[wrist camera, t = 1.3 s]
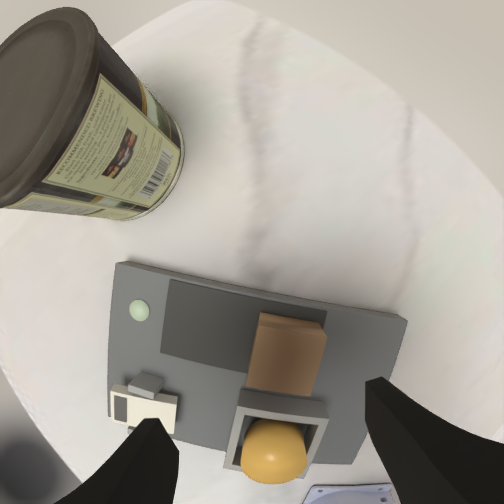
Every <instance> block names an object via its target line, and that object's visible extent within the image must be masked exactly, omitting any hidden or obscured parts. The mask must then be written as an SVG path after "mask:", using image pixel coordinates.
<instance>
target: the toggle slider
mask: <svg viewBox="0 0 504 504" xmlns="http://www.w3.org/2000/svg"><path fill="white" fill-rule="evenodd" d="M326 341H327V336H326V334H325V332H324V331H323V329H322V327H321V326H320V324H319V323H318V322H312V321H306V320H301V319H295V318H290V317H284V316H279V315H273V314H268V313H263V312H260V315H259V320H258V324H257V329H256V334H255V338H254V343H253V348H252V352H251V357H250V361H249V366H248V373H247V379H246V385H245V386H246V387H251V388H256V389H262V390H268V391H274V392H280V393H286V394H293V395H301V396H308V397H310V395H311V392H312V389H313V386H314V383H315V379H316V376H317V373H318V369H319V366H320V363H321V359H322V356H323V352H324V348H325V345H326Z"/></svg>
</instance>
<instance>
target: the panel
mask: <svg viewBox="0 0 504 504" xmlns="http://www.w3.org/2000/svg"><path fill="white" fill-rule="evenodd" d="M260 312H263V313H268V314H273V315H279V316H284V317H290V318H295V319H301V320H306V321H312V322H318V323H319V324H320V326H321V327H322V329H323V331H324V332H325V334H326V336H327V341H326V345H325V348H324V352H323V356H322V359H321V363H320V366H319V369H318V373H317V376H316V379H315V383H314V386H313V389H312V392H311V395H310V397H308V396H301V395H293V394H286V393H280V392H274V391H268V390H262V389H256V388H251V387H246V386H245V385H246V379H247V373H248V366H249V361H250V357H251V352H252V348H253V343H254V338H255V334H256V329H257V324H258V320H259V315H260ZM407 322H408V321H407V320H406V319H404V318H402V317H401V316H399V315H397V314H390V313H384V312H378V311H371V310H365V309H359V308H353V307H348V306H342V305H336V304H330V303H325V302H319V301H314V300H308V299H303V298H297V297H292V296H287V295H282V294H277V293H271V292H266V291H261V290H256V289H251V288H246V287H241V286H237V285H232V284H227V283H222V282H218V281H213V280H208V279H204V278H199V277H194V276H190V275H185V274H181V273H176V272H172V271H168V270H163V269H159V268H155V267H150V266H146V265H142V264H138V263H134V262H129V261H124V262H118V263H116V265H115V273H114V281H113V290H112V300H111V311H110V325H109V342H108V379H107V388H108V416H109V417H111V397H110V391H111V389H112V387H113V385H114V383H115V384H119V385H123V386H127V387H128V391H129V392H132V393H135V394H138V395H141V396H144V397H147V398H150V399H154V398H155V397H156V395H157V394H158V393H161V394H166V395H172V396H178V398H177V407H176V416H175V426H174V434H169V433H168V434H169V436H170V438H172V439H176V440H179V441H183V442H187V443H190V444H194V445H198V446H202V447H207V448H211V449H215V450H220V451H225V452H226V456H225V461H224V465H223V468H226V469H231V470H236V471H242V468H241V456H242V448H243V441H244V434H245V432H246V430H247V429H248V427H249V426H250V425H252V424H253V423H254V422H256V421H258V420H261V419H264V418H267V419H274V420H281V421H288V422H294V423H296V424H297V425H298V426H299V427H300V429H301V431H302V433H303V438H304V445H305V451H306V457H307V465H306V468H305V470H304V471H303V473H302V474H301V475H299V476H298V477H297V478H301V479H304V478H305V476H306V473H307V471H308V469H309V467H310V465H311V463H318V464H352V463H353V461H354V459H355V457H356V455H357V453H358V451H359V449H360V447H361V445H362V443H363V441H364V439H365V437H366V435H367V432H368V428H367V425H366V422H365V381H369V380H372V379H375V378H378V377H381V376H382V377H384V378H385V379H386V380H388V381H389V379H390V376H391V373H392V370H393V367H394V365H395V362H396V359H397V356H398V353H399V349H400V346H401V343H402V340H403V336H404V333H405V330H406V326H407ZM135 428H136V427H133V426H129V427H128V434H131V433H132V431H133V430H134V429H135ZM242 472H243V471H242Z"/></svg>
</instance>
